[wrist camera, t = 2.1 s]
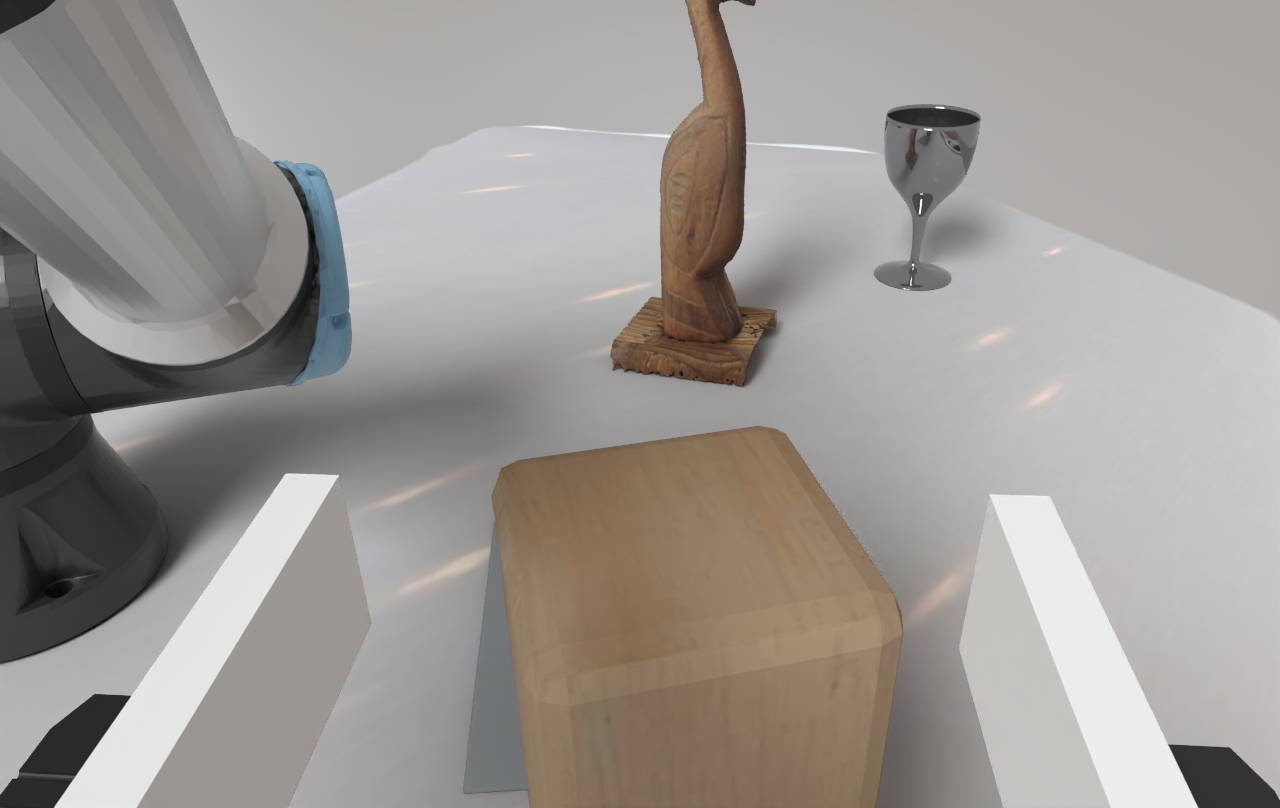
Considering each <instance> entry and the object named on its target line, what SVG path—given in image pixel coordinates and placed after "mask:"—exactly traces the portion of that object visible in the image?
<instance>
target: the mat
mask: <svg viewBox="0 0 1280 808" xmlns="http://www.w3.org/2000/svg"><path fill="white" fill-rule="evenodd" d="M526 789H528V788H527V780H526V771H525V763H524V755H523V747H522V739H521V731H520V722H519V714H518V706H517V698H516V690H515V682H514V673H513V665H512V657H511V649H510V641H509V633H508V625H507V616H506V608H505V600H504V592H503V584H502V576H501V567H500V559H499V551H498V543H497V535H496V527H495V521H494V529H493V538H492V546H491V555H490V563H489V572H488V581H487V589H486V598H485V606H484V615H483V623H482V632H481V640H480V649H479V658H478V666H477V675H476V683H475V692H474V700H473V709H472V717H471V726H470V735H469V743H468V752H467V760H466V769H465V777H464V786H463V791H464V793H479V792H495V791H510V790H526Z"/></svg>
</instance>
